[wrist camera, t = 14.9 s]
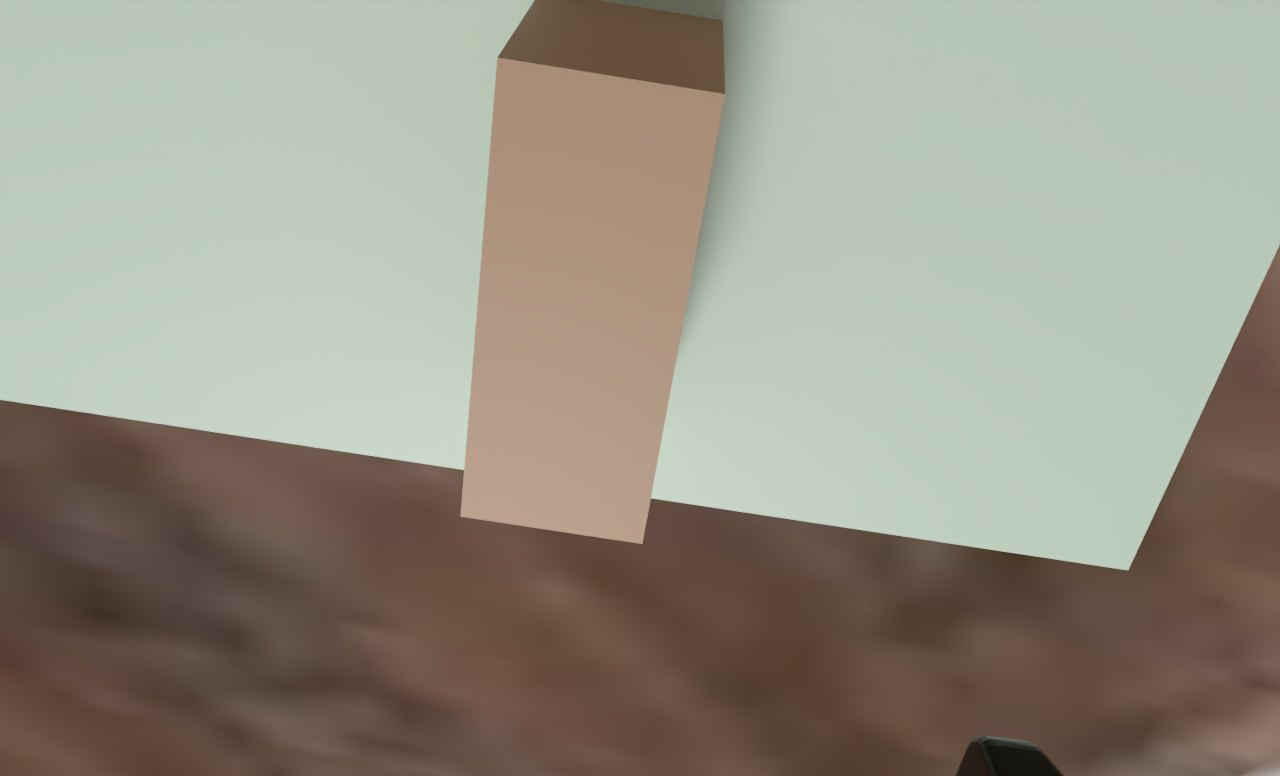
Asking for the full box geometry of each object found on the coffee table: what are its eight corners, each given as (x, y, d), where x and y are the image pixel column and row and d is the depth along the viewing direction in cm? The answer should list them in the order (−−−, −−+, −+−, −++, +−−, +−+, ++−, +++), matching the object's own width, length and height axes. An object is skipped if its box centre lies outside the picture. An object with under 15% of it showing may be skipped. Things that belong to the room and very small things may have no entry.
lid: (1360, -29, 18) (1580, 55, 13) (1109, 532, 23) (1204, 726, 19) (-71, -266, 17) (-350, -262, 13) (24, 367, 23) (-147, 526, 18)
